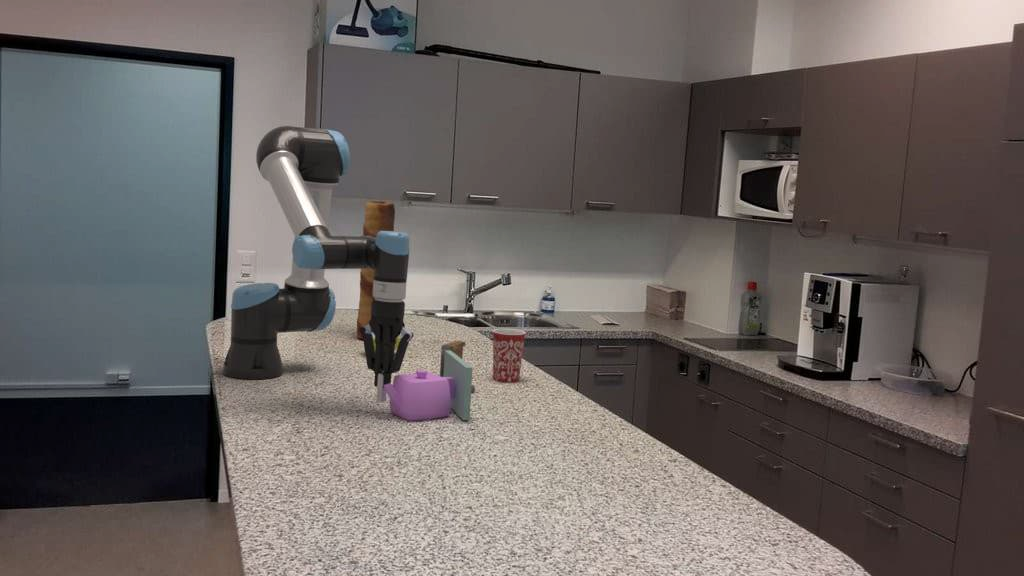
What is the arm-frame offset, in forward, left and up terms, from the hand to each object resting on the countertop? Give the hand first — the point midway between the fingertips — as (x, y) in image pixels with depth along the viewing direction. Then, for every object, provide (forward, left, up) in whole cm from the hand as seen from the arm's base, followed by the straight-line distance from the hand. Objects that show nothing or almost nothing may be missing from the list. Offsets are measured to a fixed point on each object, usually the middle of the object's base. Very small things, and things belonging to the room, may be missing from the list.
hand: (381, 401), depth 212 cm
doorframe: (+7, +23, -2) cm, 24 cm away
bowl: (-30, +58, -2) cm, 65 cm away
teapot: (+9, +1, -2) cm, 9 cm away
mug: (+12, +50, -2) cm, 52 cm away
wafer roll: (-45, +81, -2) cm, 93 cm away
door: (+15, +10, -2) cm, 18 cm away
